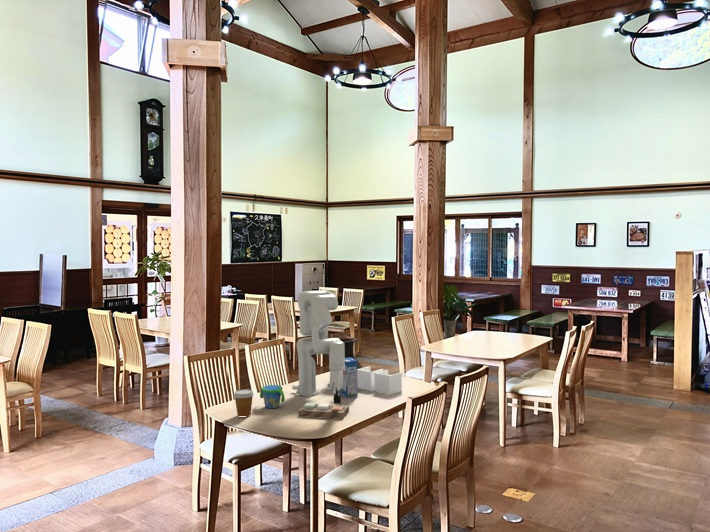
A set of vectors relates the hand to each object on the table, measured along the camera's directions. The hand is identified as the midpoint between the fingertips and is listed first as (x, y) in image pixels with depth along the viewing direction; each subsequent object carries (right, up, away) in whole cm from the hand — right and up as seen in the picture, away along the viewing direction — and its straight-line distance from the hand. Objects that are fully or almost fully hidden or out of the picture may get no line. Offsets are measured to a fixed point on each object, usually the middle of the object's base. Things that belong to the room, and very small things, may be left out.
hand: (337, 403), depth 267 cm
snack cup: (-34, -6, +15) cm, 38 cm away
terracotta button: (0, -5, 0) cm, 5 cm away
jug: (+3, -4, +66) cm, 66 cm away
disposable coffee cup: (-46, -6, 0) cm, 46 cm away
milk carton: (+5, -5, +35) cm, 36 cm away
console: (-7, -6, +1) cm, 9 cm away
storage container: (+23, -4, +47) cm, 52 cm away
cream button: (-7, -4, +1) cm, 8 cm away
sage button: (-13, -4, +3) cm, 14 cm away
